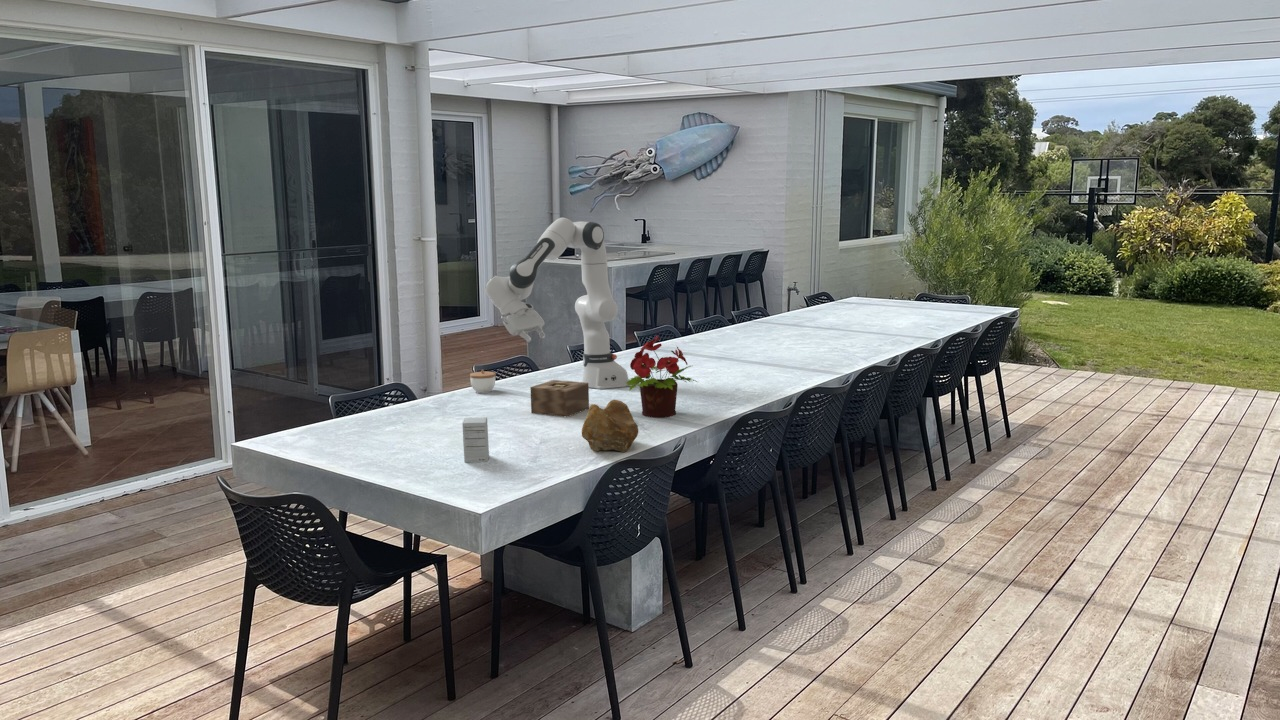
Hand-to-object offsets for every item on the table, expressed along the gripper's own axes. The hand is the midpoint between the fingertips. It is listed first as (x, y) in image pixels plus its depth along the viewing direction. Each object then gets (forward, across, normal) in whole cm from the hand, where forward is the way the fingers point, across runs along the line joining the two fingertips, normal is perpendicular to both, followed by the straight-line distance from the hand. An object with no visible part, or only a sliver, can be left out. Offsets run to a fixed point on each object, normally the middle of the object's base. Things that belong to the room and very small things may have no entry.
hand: (536, 338), depth 365 cm
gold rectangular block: (+26, 0, +12) cm, 28 cm away
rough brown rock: (+58, -41, -21) cm, 74 cm away
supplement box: (+35, -70, +3) cm, 78 cm away
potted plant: (+53, +7, -15) cm, 55 cm away
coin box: (+26, 0, +12) cm, 29 cm away
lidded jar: (-8, +19, +48) cm, 52 cm away
